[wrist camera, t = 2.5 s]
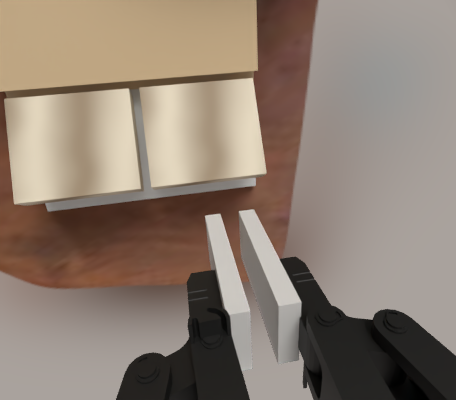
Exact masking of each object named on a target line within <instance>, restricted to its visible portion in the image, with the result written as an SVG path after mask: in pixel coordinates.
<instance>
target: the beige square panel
mask: <svg viewBox="0 0 456 400" xmlns="http://www.w3.org/2000/svg"><path fill="white" fill-rule="evenodd" d="M139 90H140V99H141V107H142V115H143V123H144V131H145V139H146V148H147V156H148V164H149V172H150V180H151V188H153V189H154V190H158V189H166V188H174V187H182V186H190V185H199V184H207V183H215V182H223V181H231V180H240V179H248V178H256V177H262V176H264V175H265V174H267V173H266V166H265V159H264V152H263V145H262V139H261V132H260V125H259V118H258V111H257V104H256V97H255V90H254V83H253V78H247V79H235V80H223V81H211V82H199V83H187V84H175V85H164V86H152V87H140V88H139Z"/></svg>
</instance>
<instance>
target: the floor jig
mask: <svg viewBox="0 0 456 400" xmlns="http://www.w3.org/2000/svg"><path fill="white" fill-rule="evenodd" d="M253 71H258V58H257V8H256V0H0V92H2V91H5V94H6V96H7V99H9V98H21V97H33V96H45V95H57V94H69V93H81V92H92V91H104V90H116V89H128V88H129V90H130V92H131V94H132V96H133V102H134V111H135V119H136V127H137V135H138V144H139V152H140V160H141V169H142V177H143V185H144V191H141V192H133V193H125V194H117V195H108V196H100V197H92V198H84V199H76V200H67V201H59V202H51V203H45V204H46V207H47V210H48V212H49V211H57V210H65V209H73V208H81V207H89V206H97V205H105V204H113V203H121V202H129V201H137V200H145V199H153V198H161V197H169V196H177V195H185V194H193V193H201V192H209V191H217V190H225V189H233V188H241V187H249V186H256V178H248V179H240V180H231V181H223V182H215V183H207V184H199V185H190V186H182V187H174V188H166V189H158V190H154V189H153V188H151V180H150V172H149V164H148V156H147V148H146V139H145V131H144V123H143V115H142V107H141V99H140V90H139V88H140V87H152V86H164V85H175V84H187V83H199V82H211V81H223V80H235V79H247V78H253V79H254V76H253Z"/></svg>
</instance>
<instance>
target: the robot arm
mask: <svg viewBox="0 0 456 400" xmlns="http://www.w3.org/2000/svg"><path fill="white" fill-rule="evenodd" d="M205 220H206V230H207V239H208V248H209V258H210V264H211V271H204V272H198V273H191V275H190V277H189V279H188V281H187V290H188V302H189V315H190V317H189V319H188V330H189V336H190V337H189V340H188V341H187V343H186V344H185V345H184V346H183V347H182V348H181V349H180V350H178V351H176V352H174V353H172V354H171V355H169V356H166V357H165V356H163V355H162V354H158V353H148V354H144V355H142V356H140V357H138V358H136V359H135V360H134V361H133V362H132V363H131V364H130V365H129V367H128V368H127V371H126V372H125V375H124V378H123V381H122V384H121V386H120V389H119V392H118V395H117V398H116V400H250V399H249V395H248V391H247V388H246V385H245V381H244V377H243V374H242V371H245V370H251V369H253V365H252V342H251V320H250V309H249V306H248V302H247V299H246V296H245V293H244V290H243V286H242V283H241V279H240V276H239V273H238V270H237V266H236V263H235V260H234V257H233V253H232V250H231V247H230V244H229V240H228V237H227V234H226V231H225V227H224V224H223V221H222V218H221V214H214V215H207V216H205ZM239 226H240V245H241V257H242V260H243V263H244V266H245V269H246V272H247V275H248V278H249V281H250V283H251V286H252V289H253V292H254V295H255V298H256V301H257V304H258V307H259V310H260V313H261V316H262V319H263V321H264V324H265V327H266V330H267V333H268V336H269V339H270V342H271V345H272V348H273V350H274V354H275V356H276V359H277V362H278V364H281V363H286V362H292V361H297V360H299V350H300V352H301V355H302V357H303V360H304V371H303V388H307V382H308V385H309V388H310V391H311V393H312V396H313V399H314V400H456V356H455V355H454V354H453V353H452V352H451V351H449V350H448V349H447V348H446V347H445V346H443V345H442V344H441V343H440V342H439V341H438V340H436V339H435V338H434V337H433V336H432V335H431V334H429V333H428V332H427V331H426V330H425V329H424V328H422V327H421V326H420V325H419V324H418V323H416V322H415V321H414V320H413V319H412V318H410V317H409V316H407V315H406V314H404V313H402V312H399V311H396V310H389V309H385V310H380V311H378V312H377V313H376V314H375V315H374V318H373V320H368V319H358V318H352V317H348V316H346V315H345V314H344V313H343V312H342V311H341V310H340V309H338V308H337V307H335V306H331V304H330V303H329V301H328V300H327V298H326V296H325V295H324V293H323V292H322V290H321V289H320V287H319V285H318V284H317V282H316V280H314V277H313V276H312V274H311V273H310V271H309V269H308V267H307V266H306V264H305V263H304V262H303V261H301V260H299V259H298V258H297V257H290V258H283V259H279V257H278V256H277V254H276V252H275V250H274V248H273V246H272V244H271V242H270V240H269V238H268V236H267V234H266V232H265V230H264V228H263V226H262V225H261V223H260V221H259V219H258V217H257V215H256V213H255V211H254V209H252V210H244V211H239Z"/></svg>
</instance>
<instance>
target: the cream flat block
mask: <svg viewBox="0 0 456 400" xmlns="http://www.w3.org/2000/svg"><path fill="white" fill-rule="evenodd" d="M4 103H5V113H6V124H7V134H8V145H9V155H10V166H11V176H12V187H13V197H14V204H18V205H35V204H43V203H51V202H59V201H67V200H76V199H84V198H92V197H100V196H108V195H117V194H125V193H133V192H141V191H144V185H143V177H142V169H141V160H140V152H139V144H138V135H137V127H136V119H135V111H134V102H133V96H132V94H131V92H130V90H129V88H128V89H116V90H104V91H92V92H81V93H69V94H57V95H45V96H33V97H21V98H9V99H4Z"/></svg>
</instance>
